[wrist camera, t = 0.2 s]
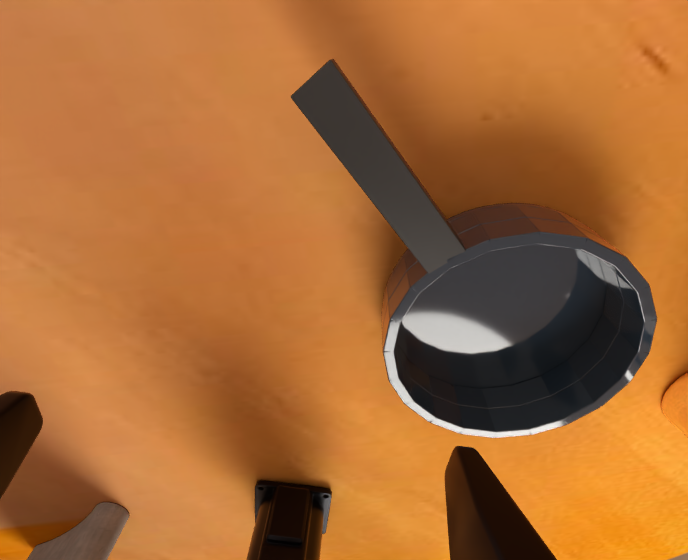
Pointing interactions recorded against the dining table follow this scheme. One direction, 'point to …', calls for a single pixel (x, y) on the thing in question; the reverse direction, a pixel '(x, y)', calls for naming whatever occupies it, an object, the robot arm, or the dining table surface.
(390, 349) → the saucepan
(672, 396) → the chrome pilsner tumbler
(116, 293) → the dining table surface
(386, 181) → the saucepan handle
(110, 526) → the hip flask
